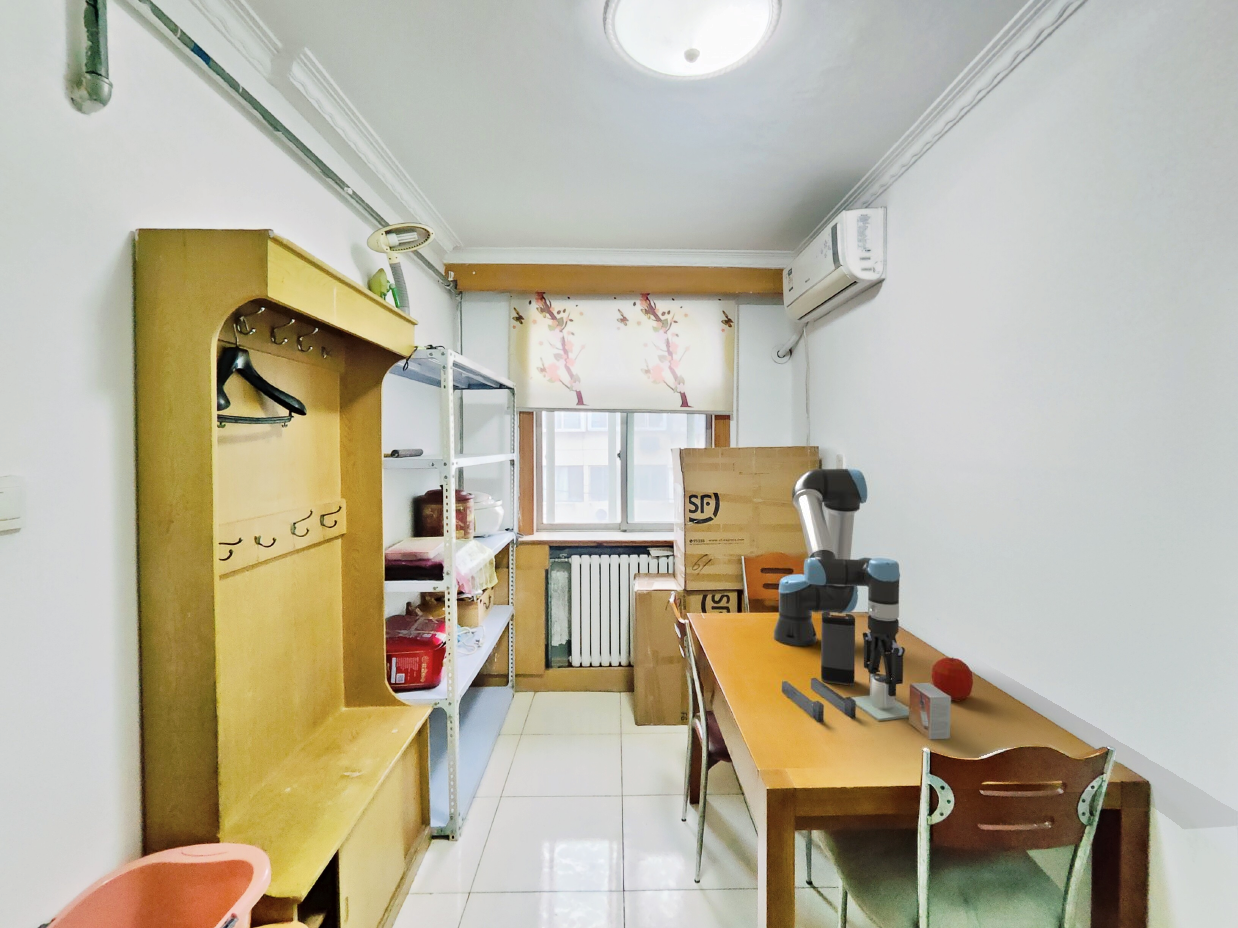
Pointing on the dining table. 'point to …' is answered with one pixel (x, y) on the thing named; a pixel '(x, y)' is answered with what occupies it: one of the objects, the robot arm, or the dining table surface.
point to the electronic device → (838, 649)
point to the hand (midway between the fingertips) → (882, 701)
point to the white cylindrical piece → (878, 691)
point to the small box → (930, 710)
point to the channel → (816, 707)
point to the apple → (952, 678)
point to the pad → (878, 714)
